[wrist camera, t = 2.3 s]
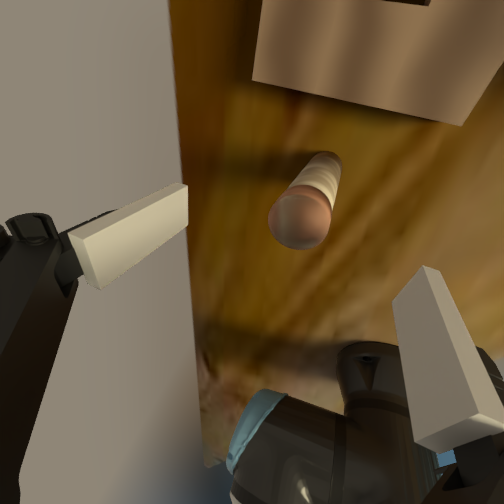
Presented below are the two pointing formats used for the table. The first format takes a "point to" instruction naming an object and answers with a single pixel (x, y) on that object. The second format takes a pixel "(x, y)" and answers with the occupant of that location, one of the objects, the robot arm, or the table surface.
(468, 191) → the table surface
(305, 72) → the square peg hole block
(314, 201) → the dowel
